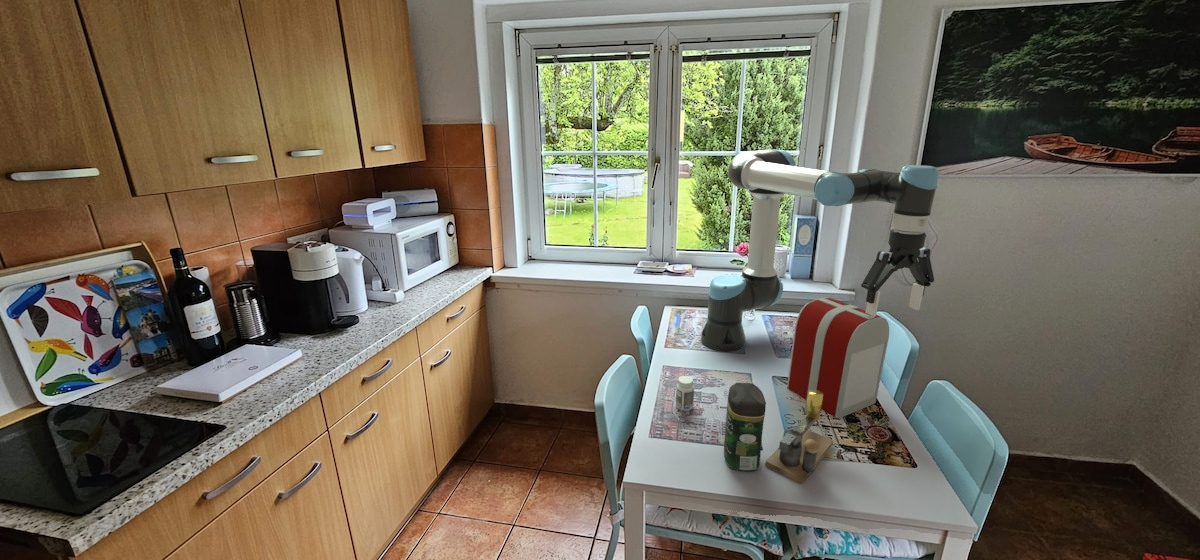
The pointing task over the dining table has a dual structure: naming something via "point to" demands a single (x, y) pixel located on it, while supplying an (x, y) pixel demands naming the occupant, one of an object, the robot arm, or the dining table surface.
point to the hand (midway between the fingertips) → (892, 311)
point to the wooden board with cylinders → (801, 457)
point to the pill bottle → (685, 393)
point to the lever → (803, 422)
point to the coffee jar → (744, 426)
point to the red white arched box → (838, 355)
